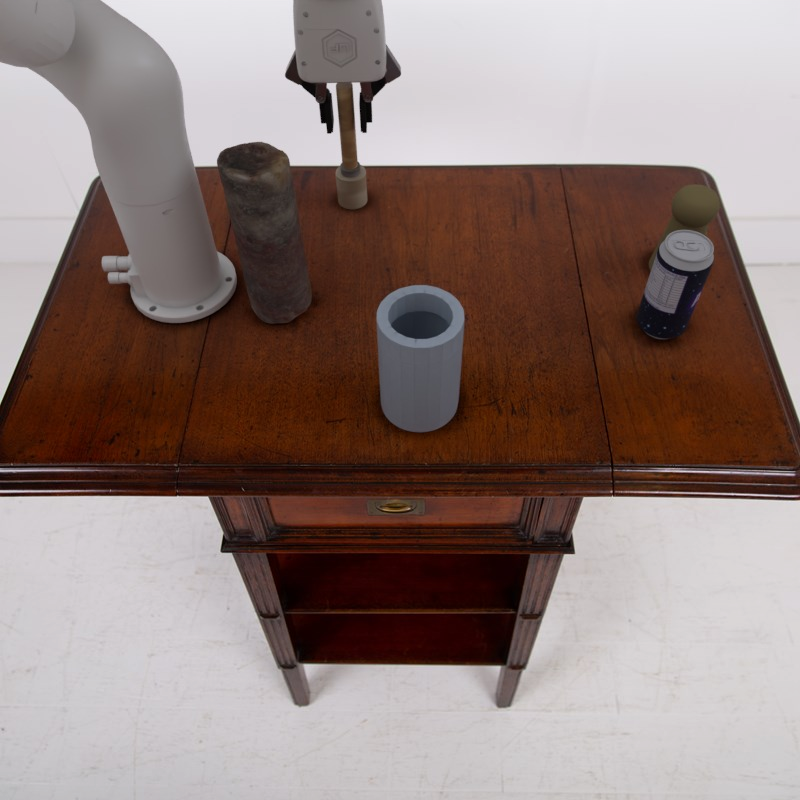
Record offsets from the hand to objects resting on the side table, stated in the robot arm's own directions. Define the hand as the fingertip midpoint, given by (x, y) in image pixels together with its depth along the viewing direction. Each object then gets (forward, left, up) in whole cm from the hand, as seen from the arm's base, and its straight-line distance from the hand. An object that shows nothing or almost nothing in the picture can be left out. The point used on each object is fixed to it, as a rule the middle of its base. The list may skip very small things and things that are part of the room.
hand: (347, 125), depth 94 cm
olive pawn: (+40, -15, -11) cm, 44 cm away
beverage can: (+36, -25, -11) cm, 45 cm away
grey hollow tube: (+8, -35, -11) cm, 38 cm away
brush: (0, 0, -11) cm, 11 cm away
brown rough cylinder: (-8, -20, -11) cm, 24 cm away
